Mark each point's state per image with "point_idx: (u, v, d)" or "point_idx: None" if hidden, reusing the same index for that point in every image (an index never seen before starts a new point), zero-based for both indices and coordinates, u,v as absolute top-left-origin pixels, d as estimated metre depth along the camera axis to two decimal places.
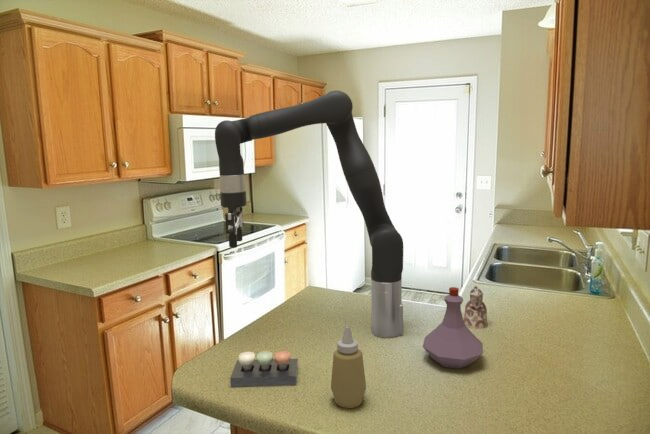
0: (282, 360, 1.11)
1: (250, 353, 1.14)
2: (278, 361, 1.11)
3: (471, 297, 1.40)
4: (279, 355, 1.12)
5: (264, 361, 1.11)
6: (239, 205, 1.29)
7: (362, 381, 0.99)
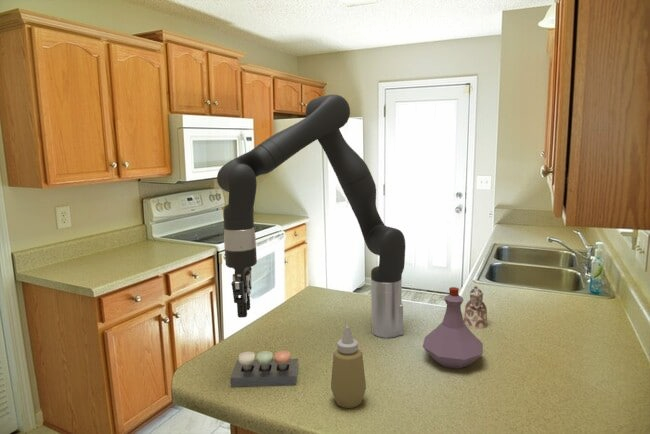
0: (282, 360, 1.11)
1: (250, 353, 1.14)
2: (278, 361, 1.11)
3: (471, 297, 1.40)
4: (279, 355, 1.12)
5: (264, 361, 1.11)
6: (248, 265, 1.06)
7: (362, 381, 0.99)
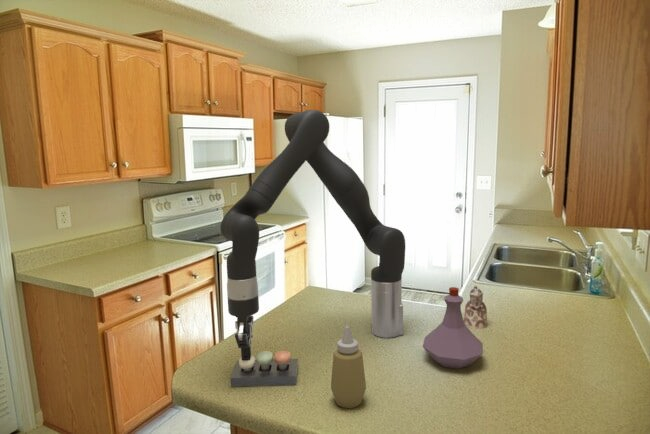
0: (282, 360, 1.11)
1: None
2: (278, 361, 1.11)
3: (471, 297, 1.40)
4: (279, 355, 1.12)
5: (264, 361, 1.11)
6: (250, 314, 1.08)
7: (362, 381, 0.99)
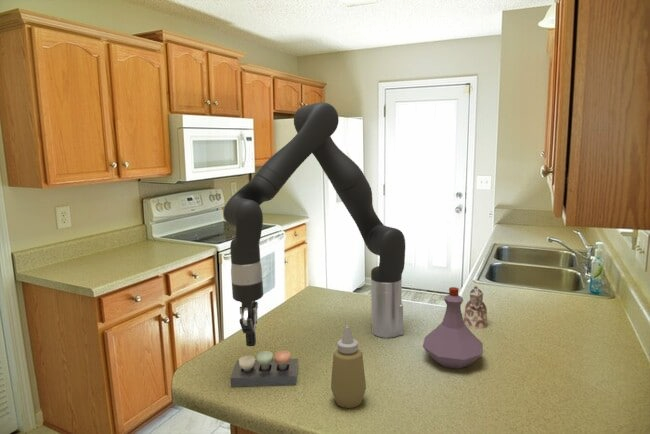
0: (282, 360, 1.11)
1: (250, 357, 1.14)
2: (278, 361, 1.11)
3: (471, 297, 1.40)
4: (279, 355, 1.12)
5: (264, 361, 1.11)
6: (255, 299, 1.07)
7: (362, 381, 0.99)
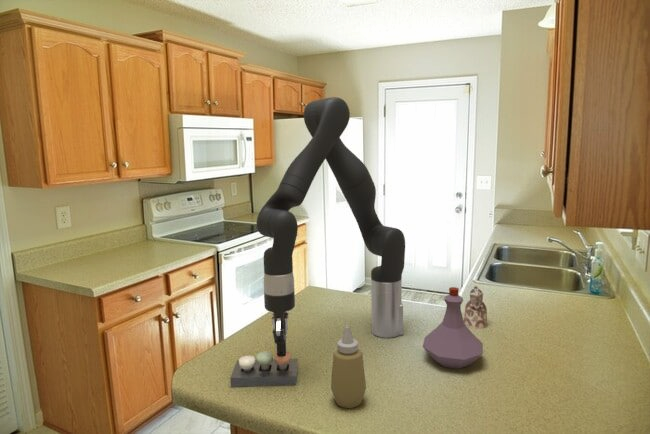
0: (282, 361, 1.11)
1: (250, 357, 1.14)
2: (278, 362, 1.11)
3: (471, 297, 1.40)
4: None
5: (264, 361, 1.11)
6: (287, 309, 1.08)
7: (362, 381, 0.99)
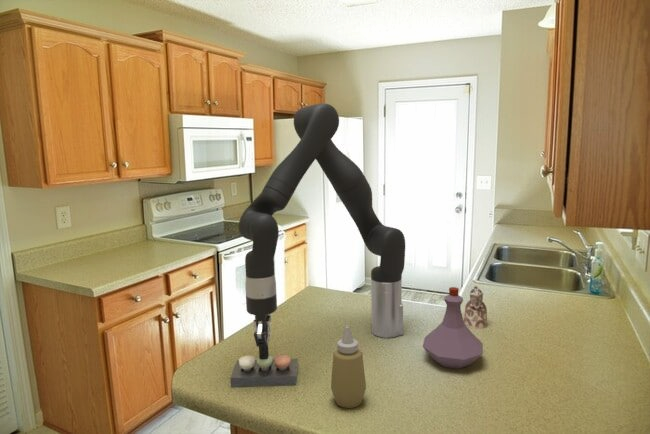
0: (282, 364, 1.11)
1: (250, 357, 1.14)
2: (278, 365, 1.11)
3: (471, 297, 1.40)
4: (279, 359, 1.12)
5: (264, 364, 1.11)
6: (269, 312, 1.08)
7: (362, 381, 0.99)
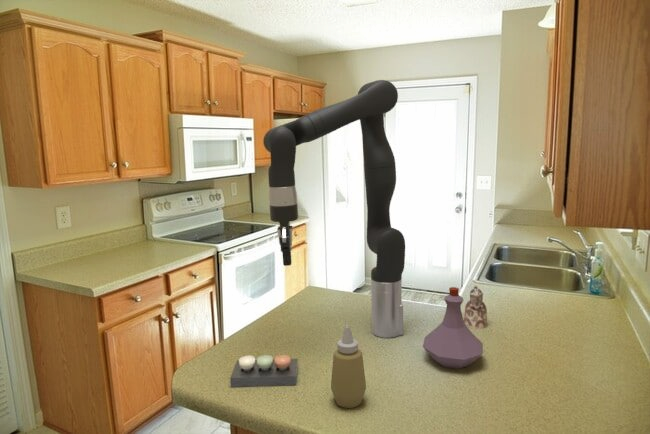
0: (282, 364, 1.11)
1: (250, 357, 1.14)
2: (278, 365, 1.11)
3: (471, 297, 1.40)
4: (279, 359, 1.12)
5: (264, 365, 1.11)
6: (292, 219, 1.18)
7: (362, 381, 0.99)
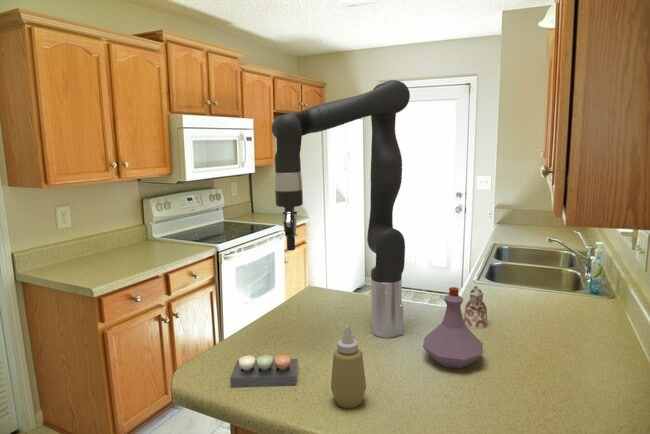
0: (282, 364, 1.11)
1: (250, 357, 1.14)
2: (278, 365, 1.11)
3: (471, 297, 1.40)
4: (279, 359, 1.12)
5: (264, 365, 1.11)
6: (296, 204, 1.21)
7: (362, 381, 0.99)
